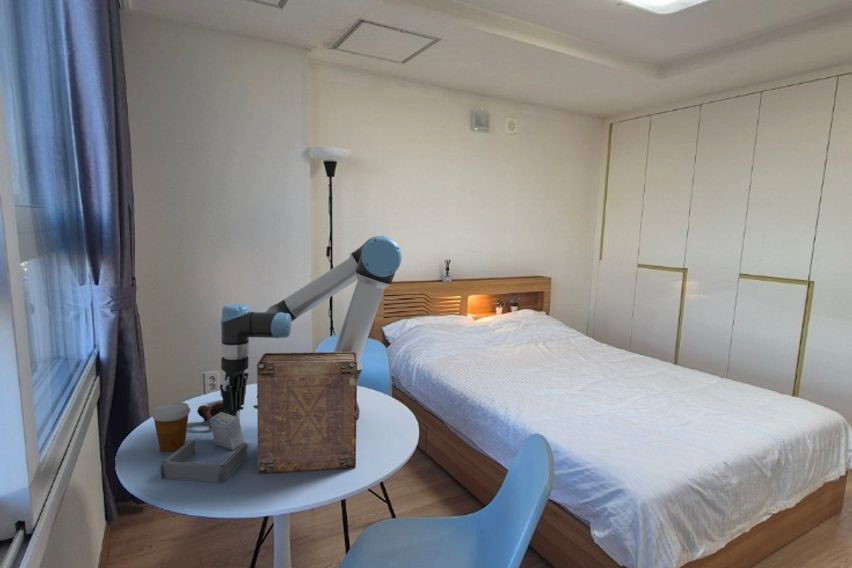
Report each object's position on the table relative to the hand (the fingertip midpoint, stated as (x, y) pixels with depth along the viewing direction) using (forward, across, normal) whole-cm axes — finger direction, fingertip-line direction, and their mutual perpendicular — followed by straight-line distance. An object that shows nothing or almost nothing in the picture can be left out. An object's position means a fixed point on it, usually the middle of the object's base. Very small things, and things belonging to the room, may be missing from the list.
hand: (234, 431), depth 134 cm
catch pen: (+2, +16, +1) cm, 16 cm away
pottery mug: (+3, -9, -11) cm, 14 cm away
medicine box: (+2, +4, +1) cm, 5 cm away
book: (+2, +11, +27) cm, 29 cm away
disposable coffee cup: (+3, +8, -14) cm, 17 cm away
